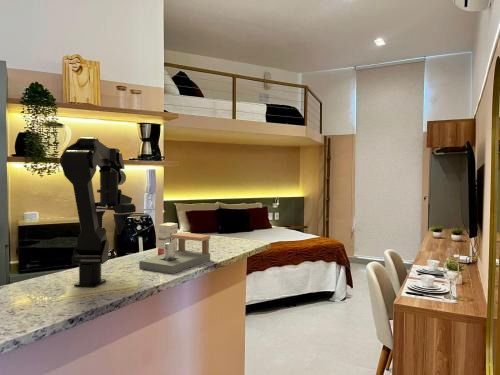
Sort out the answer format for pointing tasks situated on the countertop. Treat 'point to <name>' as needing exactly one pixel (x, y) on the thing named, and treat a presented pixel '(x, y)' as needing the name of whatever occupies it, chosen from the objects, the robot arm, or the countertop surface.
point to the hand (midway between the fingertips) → (109, 233)
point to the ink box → (166, 236)
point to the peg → (169, 251)
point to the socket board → (179, 255)
